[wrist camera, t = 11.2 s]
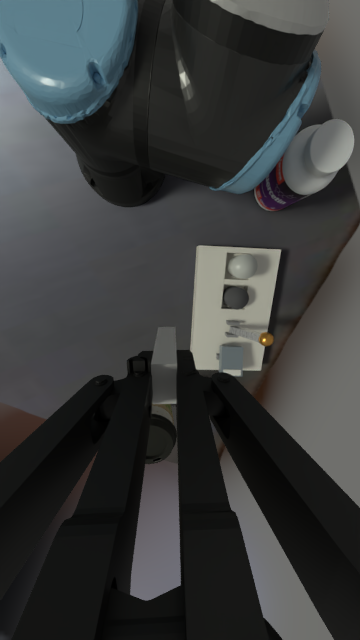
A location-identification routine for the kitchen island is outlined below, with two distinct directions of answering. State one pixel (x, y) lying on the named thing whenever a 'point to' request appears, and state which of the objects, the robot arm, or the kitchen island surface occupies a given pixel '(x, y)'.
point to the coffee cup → (160, 434)
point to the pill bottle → (307, 164)
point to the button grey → (242, 266)
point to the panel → (218, 317)
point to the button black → (235, 297)
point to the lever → (252, 335)
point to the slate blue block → (231, 360)
